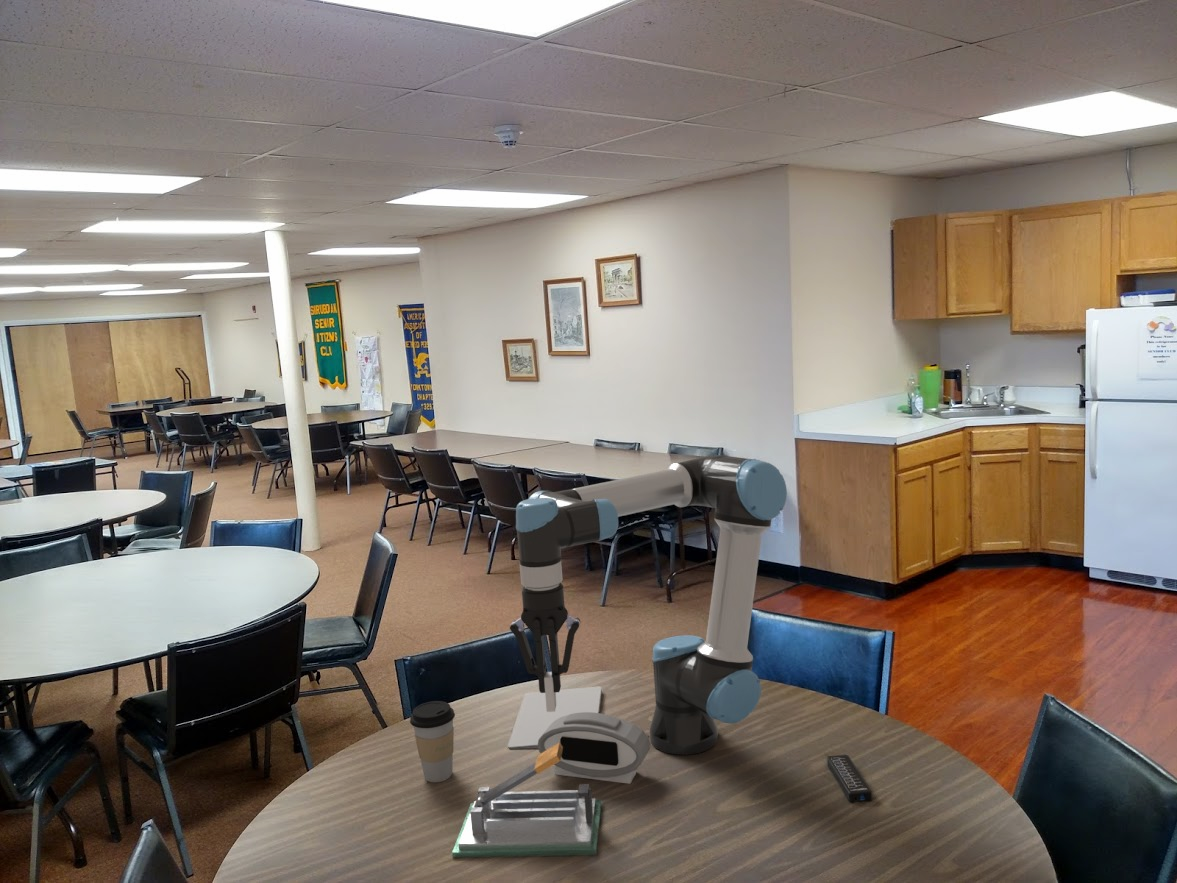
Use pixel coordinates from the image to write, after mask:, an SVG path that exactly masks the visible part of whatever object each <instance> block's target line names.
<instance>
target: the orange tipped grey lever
mask: <svg viewBox="0 0 1177 883" xmlns="http://www.w3.org/2000/svg"><path fill="white" fill-rule="evenodd" d="M562 751H563V746H562V745H561V743H560V742H559V743H557V744H556V745H554V746H553V747H551V748H549V749H548V750H546V751H544V752H543V753H539V754H538V755H537V758H536V760H535V761H536V762H534V763H533V764H531V765H529V766H527V767H526V768H524V769H522V770H520V771H519V772H518V773H516V774H514V775H513V776H511V777H509V778H508V779H506V780H504V781H502V782H501V783H500V784H498V785H496V786H494V787H493V788H491V789H490V790H489V791H488V792H486V793H483V792H481V793H479V795H478V794H477V798H476V800H475V801H476V803H475V806H474V807H483V806H484V805H486V804H487V803H489V802H491V801H495V800H496V798H497V797H499V796H501V795H502V794H504V793H506V792H510V790H512V789H514V788H515V787H517V786H520V784H523V783H524V782H525V781H527V780H529V779H530V778H532V777H534V776H535V775H538V774H541V773H542V772H544V771H546V770H547V769H549V768H550V767H553V766H555V765H554V764H556V763H557V762H559V761H560V760H561V755H562Z"/></svg>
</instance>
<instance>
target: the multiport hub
mask: <svg viewBox="0 0 1177 883" xmlns="http://www.w3.org/2000/svg"><path fill="white" fill-rule="evenodd" d="M826 763H827V764H826V765H827V767H828V769H829V770H830V772H831V774H832V776H833V778H834V779H835V781H836V782H837V784H838V785H839V787H840V789H841V791H842V792H843V794H844V796H845V797H846V799H847V801H848V803H849V804H850V803H851V804H854V803H867V802H868V803H869V802H873V790H872V789H871V788H870V786H869V785H868V783H867V782H866V780H865V779H864V777H863V776H862V774H861V773H860V771H859V770H858V767H856V765H855V763H854V762H853V760H852V759H851V757H850V755H847V754H840V755H838V754H837V755H828V756H827V757H826Z"/></svg>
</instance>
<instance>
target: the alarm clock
mask: <svg viewBox="0 0 1177 883" xmlns="http://www.w3.org/2000/svg"><path fill="white" fill-rule="evenodd" d="M559 742H560V743H561V745H562V746H563V751H562V755H561V760H560V761H559V762H557V763H556V764H554V765H553V766H555V769H554V775H558V776H566V777H573V778H575V777H576V778H582V779H590V780H599V781H607V782H613V783H623V784H631V783H632V781H633V779H634V778H635V776H636V775H637V769H638V768H639V767H640V766H641V765H642V764H643V762H644V760H645V758H646V756H647V754H648V753H649V751H650V749H651V745H652V743H651V741H650V736H648V735H647V734H646V732H645V731H644V730H643V729H641V728H640V727H639V726H637V725H636V724H634V723H632V722H630V721H627V720H625V719H624V718H619V717H616V716H613V715H609V714H605V713H600V712H599V713H593V712H583V713H574V714H570V715H567V716H563V717H560V718H559V719H557V720H555V721H554V722H553V723H552V724H551V725H550V726H549V727H548V729H547V730H546V731H545V732H544V733H543V735H542V736H541V737H540V738H539V740H538V745H537V746H538V748H537V749H538V752H539V754H541V753H543V752H544V751H546V750H548V749H549V748H551V747H553V746H554V745H556V744H557V743H559Z"/></svg>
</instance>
